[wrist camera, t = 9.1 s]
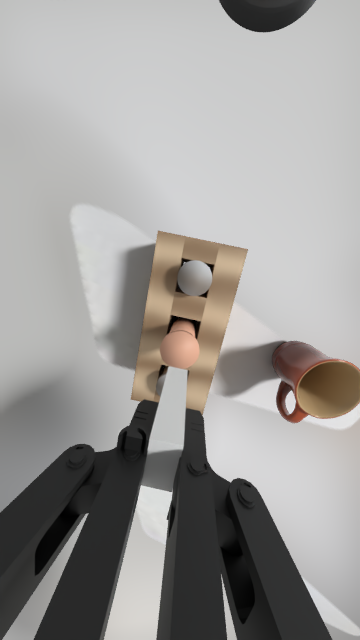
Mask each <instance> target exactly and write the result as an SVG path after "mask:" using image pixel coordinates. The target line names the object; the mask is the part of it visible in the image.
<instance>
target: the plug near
mask: <svg viewBox="0 0 360 640" xmlns="http://www.w3.org/2000/svg"><path fill="white" fill-rule="evenodd" d="M177 281H178V285H179V287H180V289H181V290H182V291H183V292H184V293H186V294H187V295H190V296H199V295H202V294H203V293H205V292H206V291H207V290H208V289H209V288H210V286H211V283H212V273H211V270H210V268H209V267H208V266H207V265H206V264H205V263H203V262H201V261H197V260H193V261H189V262H187V263H185V264H184V265H183V266H182V267H181V268H180V270H179V272H178V276H177Z"/></svg>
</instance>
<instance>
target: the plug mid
mask: <svg viewBox="0 0 360 640" xmlns="http://www.w3.org/2000/svg"><path fill="white" fill-rule="evenodd" d="M160 354H161V357H162V359H163V361H164V362H165V363H166V364H167V365H168V366H171V367H175V368H180V369H185V368H188V367H190V366H192V365H193V364H194V363H195V362H196V361H197V359H198V357H199V344H198V341H197V339H196V338H195V327H194V324H193V323H192V322H191V321H190V320H189V319H186V318H180V319H178V320H176V321H175V322H174V323H173V325H172V328H171V330H170V333H169V334H167V335H166V336H165V337H164V339H163V341H162V343H161V346H160Z"/></svg>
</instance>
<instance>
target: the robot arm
mask: <svg viewBox="0 0 360 640" xmlns="http://www.w3.org/2000/svg"><path fill="white" fill-rule="evenodd" d="M219 1H220V3H221V5H222V7H223V8H224V10H225V11H226V13H227V14H228V15H229V16H230V18H231V19H232V20H234V21H235V22H236V23H237V24H239V25H240V26H242V27H244V28H246V29H249V30H251V31H255V32H271V31H275V30H279V29H282V28H284V27H286V26H288V25H290V24H292V23H293V22H295V21H296V20H297V19H299V18H300V17H301V16H302V15H303V14H304V13H306V11H308V9H309V8H310V7H311V6H312V5H313V4H314V2H315V1H316V0H219ZM187 372H188V370H185V369H180V368H175V367H171V366H169V367H168V371H167V374H166V378H165V382H164V386H163V390H162V393H161V397H160V401H159V402H155V401H150V400H146V399H144V400H143V401H141V402H140V403H139V404H138V406H137V409H136V411H135V413H134V416H133V418H132V420H131V423H130V425H129V426H127V427H125V428H124V429H122V430H121V432H120V433H119V436H118V442H117V447H116V448H114V449H112V450H109V451H103V452H94V449H93V448H92V447H91V446H90V445H86V444H77V445H75V446H72V447H70V448H69V449H67V450H66V451H64V452H63V453H62V454H61V455H60V456H59V457H58V458H57V459H56V460H55V461H54V462H53V463H52V464H51V465H50V466H49V467H48V468H47V469H46V470H45V471H44V472H43V473H41V474H40V475H39V477H37V478H36V479H35V480H34V481H33V482H32V483H31V484H30V485H29V486H28V487H27V488H26V489H25V490H24V491H23V492H22V493H21V494H20V495H19V496H17V498H15V500H13V501H12V502H11V503H10V504H9V505H8V506H7V507H6V508H5V509H4V510H3V511H2V512H1V513H0V640H2V639H3V637H4V636H5V634H6V633H7V631H8V630H9V628H10V627H11V625H12V624H13V622H14V621H15V619H16V618H17V616H18V615H19V613H20V612H21V610H22V609H23V607H24V606H25V604H26V603H27V601H28V600H29V598H30V596H31V595H32V594H33V592H34V591H35V589H36V588H37V586H38V585H39V583H40V582H41V580H42V579H43V577H44V576H45V574H46V573H47V571H48V570H49V568H50V566H51V565H52V563H53V562H54V561H55V559H56V558H57V556H58V555H59V553H60V552H61V550H62V549H63V547H64V545H65V544H66V543H67V541H68V540H69V538H70V536H71V535H72V534H73V532H74V531H75V529H76V528H77V526H78V525H79V523H80V522H81V520H82V518H83V517H84V516H85V514H86V513H89V514H88V516H87V518H86V521H85V523H84V525H83V528H82V530H81V532H80V534H79V537H78V539H77V542H76V544H75V546H74V548H73V551H72V553H71V555H70V557H69V560H68V562H67V564H66V566H65V569H64V571H63V573H62V576H61V578H60V581H59V583H58V585H57V587H56V590H55V592H54V594H53V596H52V599H51V601H50V603H49V606H48V608H47V610H46V613H45V615H44V617H43V619H42V622H41V624H40V627H39V629H38V631H37V634H36V635H35V638H34V640H104V636H105V631H106V628H107V623H108V619H109V615H110V611H111V607H112V603H113V599H114V594H115V590H116V586H117V582H118V578H119V574H120V570H121V566H122V562H123V558H124V553H125V549H126V545H127V541H128V537H129V533H130V529H131V525H132V521H133V516H134V512H135V508H136V504H137V500H138V495H139V490H140V486H141V485H143V486H147V487H152V488H156V489H161V490H165V491H169V492H172V489H173V494H172V501H171V504H170V508H169V512H168V516H167V520H168V530H167V540H166V550H165V560H164V570H163V580H162V590H161V600H160V611H159V620H158V629H157V640H227V633H226V623H225V612H224V601H223V591H222V580H221V574H222V578H223V583H224V587H225V590H226V595H227V599H228V603H229V607H230V611H231V615H232V620H233V624H234V628H235V633H236V636H237V640H332V638H331V636H330V634H329V632H328V630H327V628H326V626H325V624H324V622H323V620H322V618H321V616H320V614H319V612H318V610H317V608H316V606H315V604H314V602H313V600H312V598H311V596H310V594H309V592H308V590H307V588H306V586H305V584H304V582H303V580H302V578H301V575H300V573H299V572H298V569H297V568H296V565H295V563H294V561H293V559H292V558H291V555H290V553H289V551H288V549H287V547H286V546H285V543H284V541H283V539H282V537H281V535H280V533H279V531H278V529H277V527H276V525H275V523H274V521H273V519H272V517H271V515H270V513H269V511H268V509H267V507H266V505H265V503H264V501H263V499H262V497H261V495H260V494H259V492H258V490H257V489H256V488H255V487H254V486H253V485H252V484H251V483H250V482H248V481H246V480H244V479H240V478H237V479H234V480H233V481H232V482H231V483H230V482H229V481H227V480H225V479H224V478H222V477H220V476H218V475H217V474H216V473H215V472H214V471H213V470H212V469H211V467H210V465H209V463H208V461H207V456H206V444H205V433H204V420H203V419H204V418H203V416H202V414H201V412H200V411H198V410H194V409H189V408H186V392H187Z"/></svg>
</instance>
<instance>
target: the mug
mask: <svg viewBox="0 0 360 640" xmlns="http://www.w3.org/2000/svg"><path fill="white" fill-rule="evenodd" d="M272 363H273V367H274V369H275V371H276V373H277V375H278V376H279V377H280V378H281V383H280V385H279V388H278V392H277V396H276V404H277V408H278V410H279V412H280V414H281V416H282V417H283V418H284V419H286V420H287V421H289V422H291V423H298V422H300V421H301V420H302V419H304V418H305V417H306V416H308V415H311V416H313V417H316V418H321V419H327V418H335V417H339V416H342V415H344V414H346V413H348V412H350V411H351V410H352V409H354V408H355V407H356V406H357V405H358V404H359V402H360V370H359V369H358V368H357V367H356V366H355V365H354V364H352V363H349V362H347V361H344V360H340V359H334V358H330V357H328V356H326V355H325V354H323V353H322V352H320V351H318V350H317V349H315V348H314V347H312V346H311V345H308V344H306V343H303V342H298V341H289V342H286V343H283V344H282V345H280V346H279V347H278V348H277V349H276V350H275V352H274V354H273V357H272ZM291 390H292V391H293V393H294V396H295V399H296V405H295V409H294V411H293V412H292V413H291V414H289V412H288V411H287V408H286V405H285V399H286V396H287V394H288V393H289V392H290V391H291Z"/></svg>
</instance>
